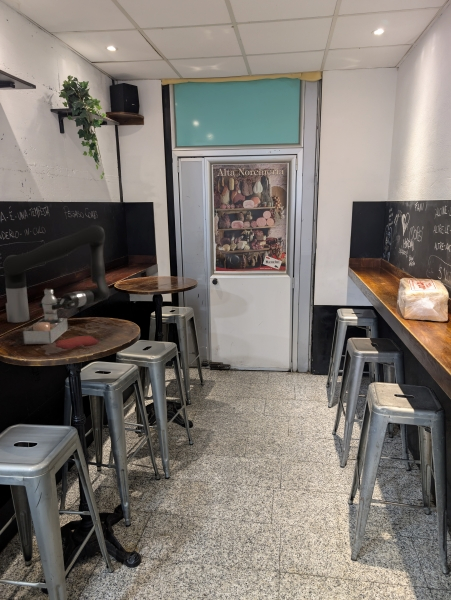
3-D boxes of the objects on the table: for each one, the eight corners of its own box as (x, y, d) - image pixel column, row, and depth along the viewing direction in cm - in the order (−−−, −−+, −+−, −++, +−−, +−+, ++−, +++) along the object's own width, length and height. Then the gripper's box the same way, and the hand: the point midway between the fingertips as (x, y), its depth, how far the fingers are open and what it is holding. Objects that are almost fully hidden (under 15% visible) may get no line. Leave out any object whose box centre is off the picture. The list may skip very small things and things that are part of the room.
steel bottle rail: (24, 345, 176) (22, 331, 175) (44, 330, 197) (42, 318, 196) (51, 345, 176) (49, 331, 175) (67, 330, 197) (66, 318, 196)
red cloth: (62, 353, 168) (62, 348, 167) (49, 344, 178) (49, 340, 177) (103, 344, 179) (103, 339, 179) (89, 337, 189) (88, 332, 189)
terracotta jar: (31, 342, 178) (30, 326, 176) (37, 337, 184) (36, 322, 183) (47, 342, 178) (46, 326, 177) (53, 337, 185) (51, 322, 183)
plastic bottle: (54, 335, 188) (51, 291, 184) (41, 334, 189) (37, 290, 185) (62, 331, 194) (59, 288, 190) (49, 330, 195) (46, 287, 191)
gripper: (62, 290, 204) (34, 296, 190) (84, 293, 197) (56, 300, 183) (64, 306, 205) (35, 313, 191) (85, 309, 199) (57, 316, 185)
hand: (45, 306), depth 187 cm, fingers open, 8 cm apart
